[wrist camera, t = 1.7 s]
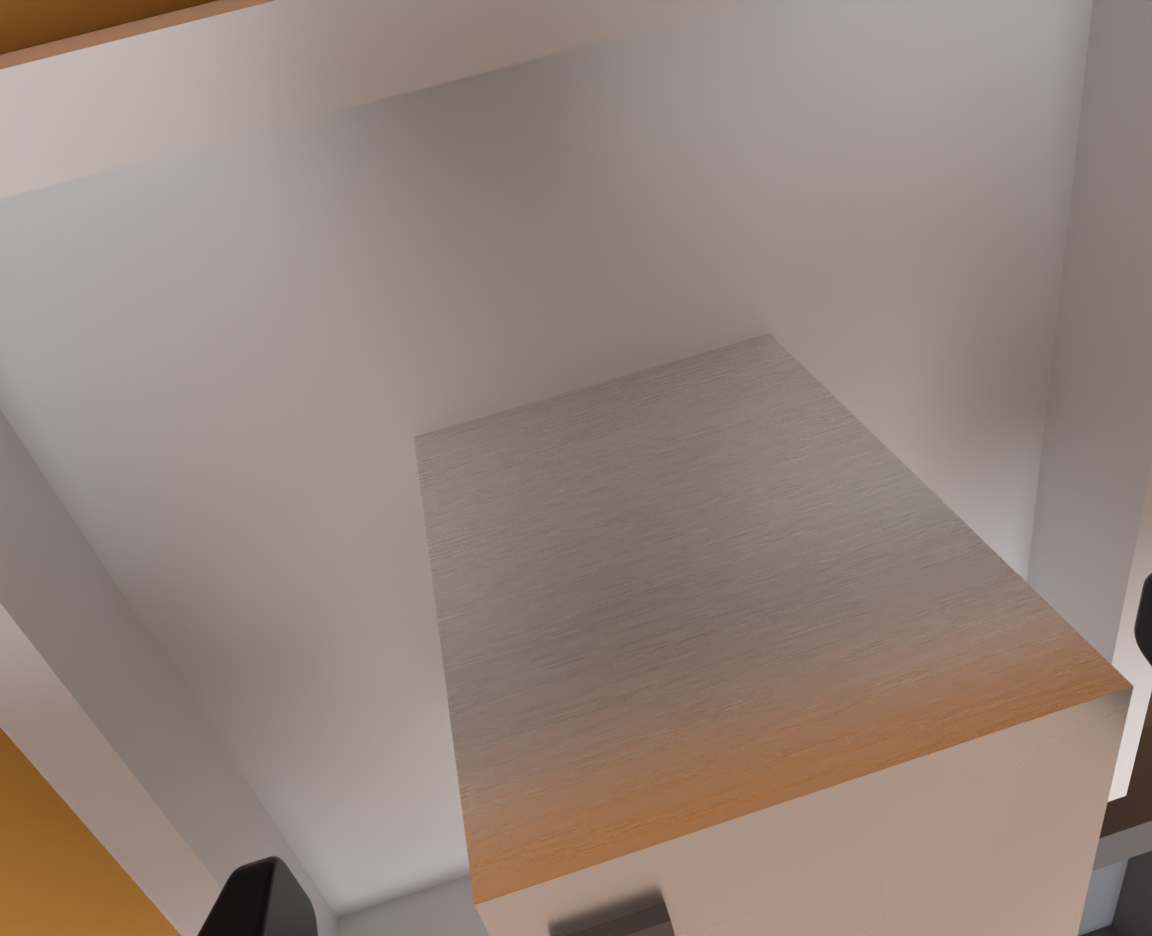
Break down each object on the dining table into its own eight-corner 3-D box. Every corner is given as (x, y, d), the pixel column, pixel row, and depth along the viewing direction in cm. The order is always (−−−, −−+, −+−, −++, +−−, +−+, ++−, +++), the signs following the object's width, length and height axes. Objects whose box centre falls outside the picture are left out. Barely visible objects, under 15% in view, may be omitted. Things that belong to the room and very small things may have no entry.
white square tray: (1147, -232, 9) (1388, -280, 7) (1029, 687, 17) (1125, 795, 15) (-256, 118, 8) (-471, 187, 6) (309, 924, 16) (304, 1077, 14)
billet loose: (769, 333, 11) (1146, 700, 6) (792, 600, 13) (1070, 1021, 8) (413, 436, 10) (475, 926, 5) (505, 690, 13) (609, 1187, 8)
